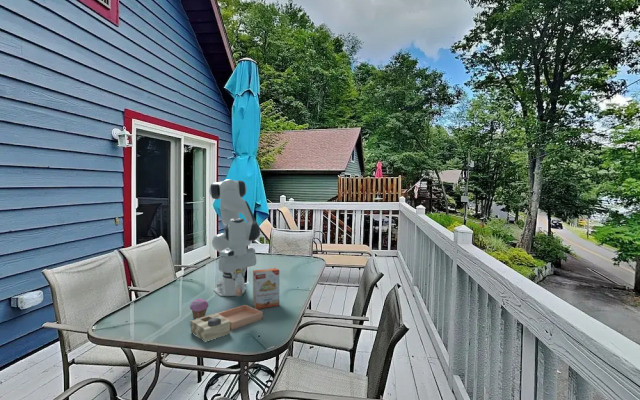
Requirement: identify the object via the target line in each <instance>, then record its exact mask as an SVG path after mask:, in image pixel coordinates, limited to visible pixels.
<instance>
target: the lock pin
mask: <svg viewBox="0 0 640 400" xmlns="http://www.w3.org/2000/svg"><path fill="white" fill-rule="evenodd" d="M242 270H243V269H236V270H235V275H236V278H235V296H236V297H241V296H243V294H244V293H242Z"/></svg>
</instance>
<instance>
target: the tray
mask: <svg viewBox="0 0 640 400" xmlns="http://www.w3.org/2000/svg"><path fill="white" fill-rule="evenodd" d="M215 314H217V315H219V316H221V317H222V318H224V319H226V320H228V321H230V331H231V330H232V331H234V330H236V329H239V328H241V327H245V326H248V325H249V324H252V323H255V322H258V321H260V320H264V312H263V311H261V310H260V309H255V308H254V306H253V307H252V306H250V305H247V304H242V305H239V306H237V307H236V306H235V307H233V308H229V309H226V310H223V311H220V312H216V313H215ZM233 329H234V330H233Z"/></svg>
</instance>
